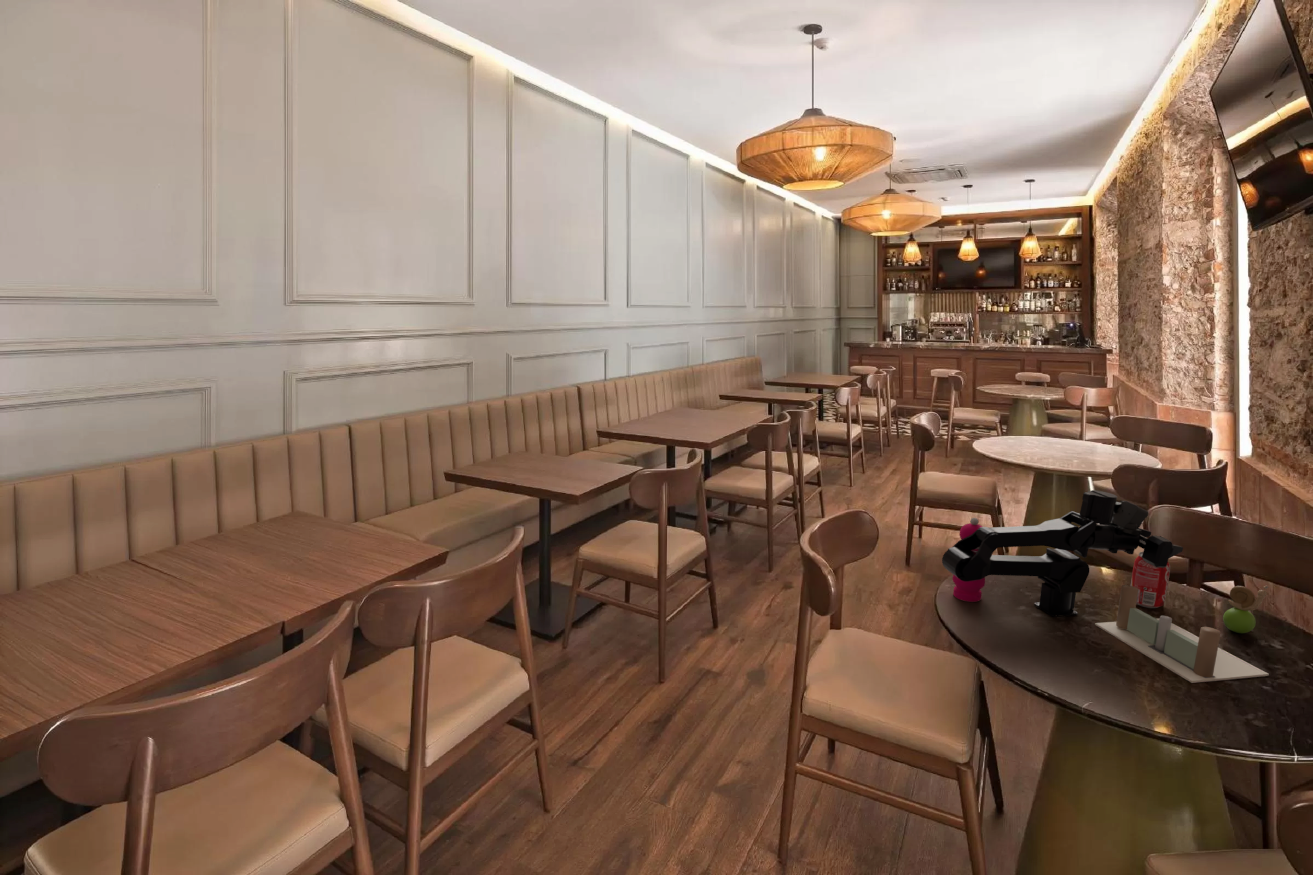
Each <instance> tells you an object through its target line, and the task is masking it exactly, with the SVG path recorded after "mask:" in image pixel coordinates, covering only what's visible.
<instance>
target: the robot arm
mask: <svg viewBox="0 0 1313 875" xmlns="http://www.w3.org/2000/svg"><path fill="white" fill-rule="evenodd" d="M1148 517H1149V511H1148V510H1147V509H1144V508H1142V507H1141V506H1139V505H1137V504H1134V503H1132V502H1130V501H1127V500H1120V501H1118V496H1117V494H1116V495H1115V494H1113V493H1111V492H1107V491H1101V490H1096V489H1095V490H1092V489H1091V490H1088V491H1087V492H1083V494H1082V502H1081V506H1080V511H1079V512H1075V511H1073V510H1071V511H1069V512H1067V513H1065V515H1063V516H1060V517H1059V518H1054V519H1049V520H1045V521H1043V522H1042V523H1039V524H1037V525H1024V526H1023V525H1021V526H1020V525H1019V526H998V527H988V526H982V527H980V528H978V529H977V530H976V531H975V532H974V533H973V534H972V535H970V536H968V537H966V538H964V539H962V540H961V539H960V540H958V541H956V543H954V544H953V546H952V547H949V548H947V550H946V551H945V552H944V554H943V555H942V558H941V563H942V565H943V567H944V568H945V569H946V570H947V571H948V572H949V573H950V574H952V576H953V575H955V576H956V577H957V578H959V579H960V580H962V581H965V582H968V581H975V580H981V579H983V578H984V577H985V578H986V577H988V576H1006V577H1007V576H1013V577H1014V576H1015V577H1017V576H1018V577H1037V578H1038V579H1039V580H1041V581H1043V582H1041V586H1040V587H1041V588H1040V596H1039V602H1038V601H1037V602H1034V604H1033V605H1034V606H1035V607H1037V608H1038V609H1040V610H1042V611H1043V612H1045V613H1046V614H1048V615H1049V616H1051V617H1064V616H1067V617H1068V616H1076V615H1078V611H1076V610H1074V609H1075V603H1076V595H1077V593H1080V592H1081V591H1082V589H1083V587H1084V585H1085V583H1086V582H1087V579H1088V578H1089V574H1090V565H1089V564H1088V563H1087V561H1084V560H1083V559H1081V557H1082V558H1085V559H1086V558H1087V556H1088V552H1089V550H1103V551H1108V552H1109V553H1111V554H1118V551H1119V552H1124V553H1126V554H1128V555H1134V553H1135V550H1137V548H1138V547H1139V548H1141V549H1143V551H1142V552H1143V555H1142V558H1143V560H1144V561H1145V562H1147V563H1149V564H1151V565H1153V566H1154V567H1158V568H1164V567H1166V566H1167V563H1168V562H1169V559H1171V558H1173V557H1175V556H1177V555H1179V554H1180V553H1182V552H1183V550H1184V547H1183V546H1181V545H1177V544H1173V541H1171V540H1169V539H1167V538H1166V537H1163V536H1161V535H1159V536H1158V535H1152V532H1151V531H1150V530H1147V529H1144V528H1141V526H1142V524H1143V522H1144V521H1145V519H1146V518H1148ZM1073 523H1074V524H1073ZM1040 546H1043V547H1046V549H1045V552H1046V553H1044V554H1043V555H1039V556H1035V555H1034V556H1033V555H1032V556H1031V555H1006V554H1005V555H1003V554H1002V555H1001V554H1000V555H999V554H994V552H995V551H996V550H997V549H998V548H1019V547H1020V548H1021V547H1040ZM978 547H979V549H978V551H977V552H974V551H971V550H974V549H976V548H978ZM1072 552H1073V553H1075V554H1073V553H1072ZM1076 554H1077V555H1078V556H1077V555H1076ZM1079 556H1080V557H1079Z"/></svg>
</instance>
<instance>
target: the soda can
mask: <svg viewBox="0 0 1313 875" xmlns="http://www.w3.org/2000/svg"><path fill="white" fill-rule="evenodd" d="M1142 555H1143V551H1140V552H1138V555H1137V557H1136V558H1135V559H1134V562H1133V568H1132V573H1131V580H1130V586H1134V587H1136V588H1138V595H1137V601H1136V606H1140V607H1144V608H1148V609H1157V608H1160V607H1163V606H1164V605H1165V601H1166V598H1167V593H1168V585H1169V580H1170V579H1169V578H1170V573H1171V565H1170V563H1169V561H1168V563H1167V566H1166V567H1164V568H1158V567H1154V566H1153V565H1151V564H1149V563H1147V562H1145V561H1144V560H1143V558H1142Z"/></svg>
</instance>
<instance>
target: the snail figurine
mask: <svg viewBox="0 0 1313 875" xmlns="http://www.w3.org/2000/svg"><path fill="white" fill-rule="evenodd" d="M1268 588H1269V586H1268V585H1265V586H1263V589H1259V590H1258V591H1257V596H1256V597H1255V594H1254V592H1253V591H1252V590H1251V589H1250V588H1248V587H1247V586H1243V585H1236V586H1233V587H1232V588H1231V589H1230V591H1229V597H1230V599H1228V600H1227V601H1228V603H1229V604H1230V606H1232V607H1231V608H1229V609H1227V610H1226V611H1225V612H1224V614H1223V616H1222V620H1223V621H1222V622H1223V623H1224V626H1225V627H1226V628H1227V629H1228V630H1230V631H1232V632H1233V633H1237V634H1246V633H1250V632H1251V631H1253V629H1254V628H1255V627H1256V617H1255V616H1254V615H1253V613H1252V612H1251V611H1256V610H1257V609H1258V608H1259V607H1260V606H1261V604H1262V602H1263V601H1264V599H1265V597H1267V589H1268Z"/></svg>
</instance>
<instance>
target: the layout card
mask: <svg viewBox="0 0 1313 875" xmlns="http://www.w3.org/2000/svg"><path fill="white" fill-rule="evenodd" d="M1156 619H1157V620H1160V617H1158V618H1156ZM1116 622H1117V621H1107V622H1106V621H1105V622H1096V623H1094V625H1095V626H1096V627H1098V628H1099V629H1101V630H1103V631H1105V632H1106V633H1107V634H1109V635H1111V636H1112V637H1114V638H1116V639H1118V640H1119V641H1121V642H1123V643H1124V644H1126V645H1128V646H1130V647H1131V648H1133V649H1134V650H1136V651H1138V652H1139V653H1140V654H1143V655H1145V656H1146V657H1148V658H1149V659H1151V660H1152V661H1155V663H1158V664H1159V665H1161V666H1163V667H1165V668H1166V669H1168V670H1169V671H1171V672H1173V673H1174V674H1176V675H1178V676H1180V677H1181V678H1182V679H1184V680H1186V681H1188V682H1189V683H1191V684H1193V683H1205V682H1206V683H1207V682H1217V681H1227V680H1237V679H1248V678H1257V677H1259V678H1260V677H1269V673H1268V672H1266V671H1264V670H1263V669H1260V668H1258V667H1256V666H1254V665H1252V664H1251V663H1249V662H1247V661H1245V660H1243V659H1242V658H1239V657H1238V656H1235V655H1233V654H1231V653H1230V652H1227V651H1226V650H1224V649H1223V648H1220V647H1218V651H1217V656H1216V662H1215V667H1214V673H1213V677H1204V676H1203V677H1202V676H1199V675H1197V674H1195V673H1194V672H1193V670H1194V669H1192V668H1190V667H1189V666H1187V665H1185V664H1183V663H1182V662H1180V661H1178V660H1176V659H1175V658H1173V657H1171V656H1170V655H1168V654H1166V653H1164V651H1160V650H1157V649H1156V648H1155V645H1153V644H1151V643H1150V642H1148V641H1146V640H1144V639H1143V638H1141V637H1139V636H1137V635H1136V634H1134V633H1132V632H1130V631H1129V630H1127V629H1122V628H1119V627H1118V626H1116ZM1170 630H1174V631H1176V632H1178V633H1180V634H1182V635H1184V636H1186V637H1187V638H1189V639H1191V640H1193V641H1195V642H1197V643H1198V641H1199V636H1197V635H1195V634H1194V633H1192V632H1189V631H1188V630H1186V629H1184V628H1182V627H1180V626H1179V625H1176V624H1174V623H1171V629H1170Z"/></svg>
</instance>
